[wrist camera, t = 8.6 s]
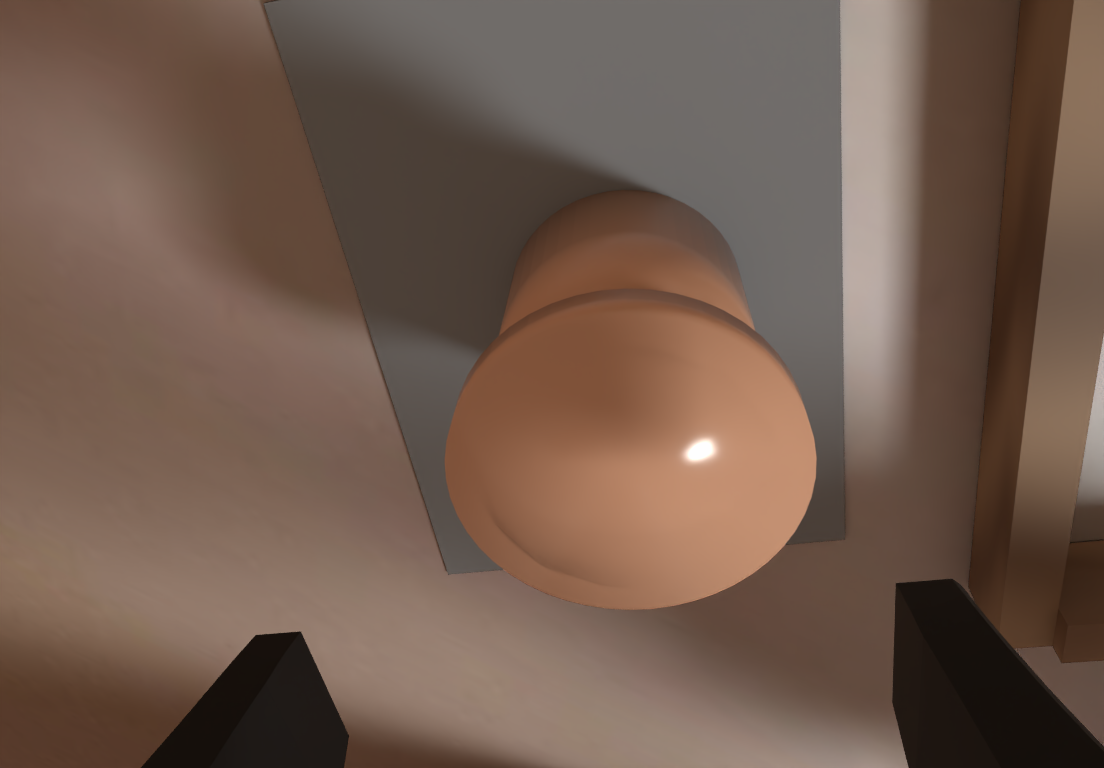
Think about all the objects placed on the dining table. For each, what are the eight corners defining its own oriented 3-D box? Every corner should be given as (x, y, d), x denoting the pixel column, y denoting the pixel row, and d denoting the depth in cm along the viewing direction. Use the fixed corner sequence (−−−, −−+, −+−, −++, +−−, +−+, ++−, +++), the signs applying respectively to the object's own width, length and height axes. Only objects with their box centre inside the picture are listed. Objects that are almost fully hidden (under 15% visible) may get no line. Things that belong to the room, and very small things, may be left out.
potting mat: (842, 531, 22) (844, 539, 22) (450, 566, 23) (448, 574, 23) (835, -108, 15) (838, -107, 14) (269, 1, 16) (263, 3, 16)
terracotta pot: (769, 395, 20) (822, 594, 15) (521, 425, 20) (489, 622, 15) (751, 148, 17) (809, 287, 12) (463, 194, 18) (401, 344, 12)
